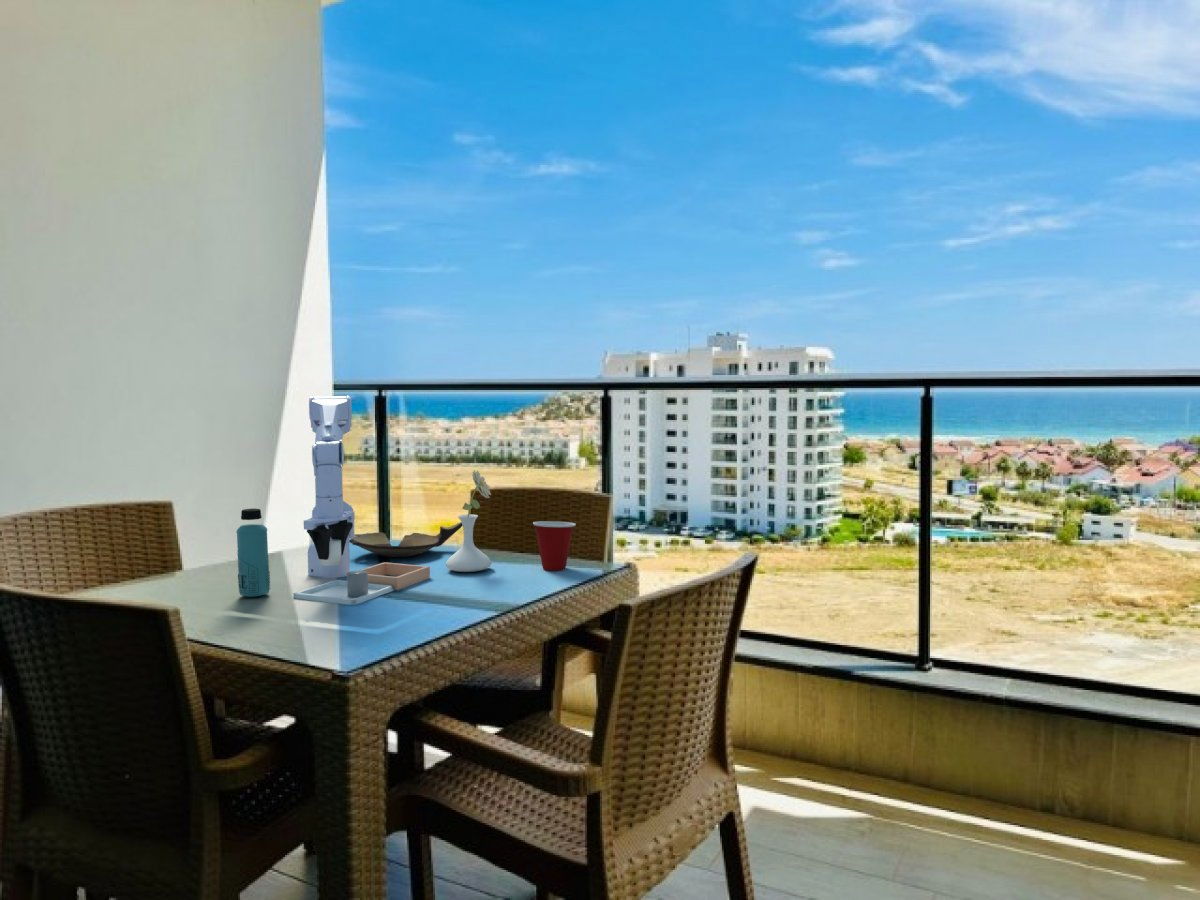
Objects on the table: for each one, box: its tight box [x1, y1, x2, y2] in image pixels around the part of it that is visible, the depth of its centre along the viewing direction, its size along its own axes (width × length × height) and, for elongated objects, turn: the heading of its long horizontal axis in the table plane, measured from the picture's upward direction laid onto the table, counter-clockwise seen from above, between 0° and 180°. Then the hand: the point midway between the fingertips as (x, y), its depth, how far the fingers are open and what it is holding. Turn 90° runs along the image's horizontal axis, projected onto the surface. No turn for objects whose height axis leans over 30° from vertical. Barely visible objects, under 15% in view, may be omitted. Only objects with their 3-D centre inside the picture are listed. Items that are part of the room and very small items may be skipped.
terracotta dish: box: [357, 562, 431, 591], centre depth 207 cm, size 13×13×4 cm
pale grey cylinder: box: [321, 539, 342, 566], centre depth 196 cm, size 4×4×5 cm
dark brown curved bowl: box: [349, 521, 463, 558], centre depth 242 cm, size 22×30×8 cm
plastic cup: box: [532, 520, 577, 572], centre depth 224 cm, size 11×11×12 cm
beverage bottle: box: [236, 508, 271, 597], centre depth 193 cm, size 6×7×20 cm
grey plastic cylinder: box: [346, 570, 368, 598], centre depth 194 cm, size 4×4×5 cm
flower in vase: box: [445, 469, 492, 573], centre depth 222 cm, size 13×11×25 cm
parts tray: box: [292, 579, 395, 606], centre depth 195 cm, size 16×14×2 cm
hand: (330, 557), depth 196 cm, fingers closed on pale grey cylinder, 4 cm apart
